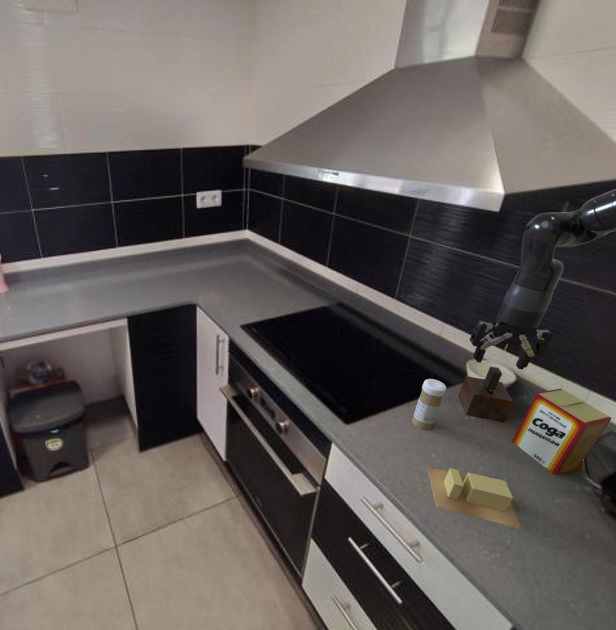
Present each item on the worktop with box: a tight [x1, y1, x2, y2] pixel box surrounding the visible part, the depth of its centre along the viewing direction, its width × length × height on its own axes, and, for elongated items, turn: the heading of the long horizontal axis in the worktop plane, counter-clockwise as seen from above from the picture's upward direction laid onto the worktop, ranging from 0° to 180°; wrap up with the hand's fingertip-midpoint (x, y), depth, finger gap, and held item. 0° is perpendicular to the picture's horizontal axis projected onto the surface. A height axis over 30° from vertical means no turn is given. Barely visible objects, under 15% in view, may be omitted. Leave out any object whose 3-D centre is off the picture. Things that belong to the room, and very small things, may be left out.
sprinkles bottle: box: [411, 378, 447, 431], centre depth 91 cm, size 5×5×13 cm
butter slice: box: [444, 467, 463, 500], centre depth 76 cm, size 2×4×4 cm, turn 161°
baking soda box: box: [511, 388, 612, 476], centre depth 81 cm, size 10×6×16 cm
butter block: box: [463, 472, 514, 512], centre depth 74 cm, size 6×4×4 cm, turn 71°
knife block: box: [457, 375, 514, 423], centre depth 97 cm, size 8×8×8 cm
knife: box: [484, 366, 503, 394], centre depth 95 cm, size 2×4×12 cm, turn 161°
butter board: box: [426, 466, 523, 530], centre depth 76 cm, size 14×10×1 cm
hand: (498, 364), depth 91 cm, fingers open, 8 cm apart
